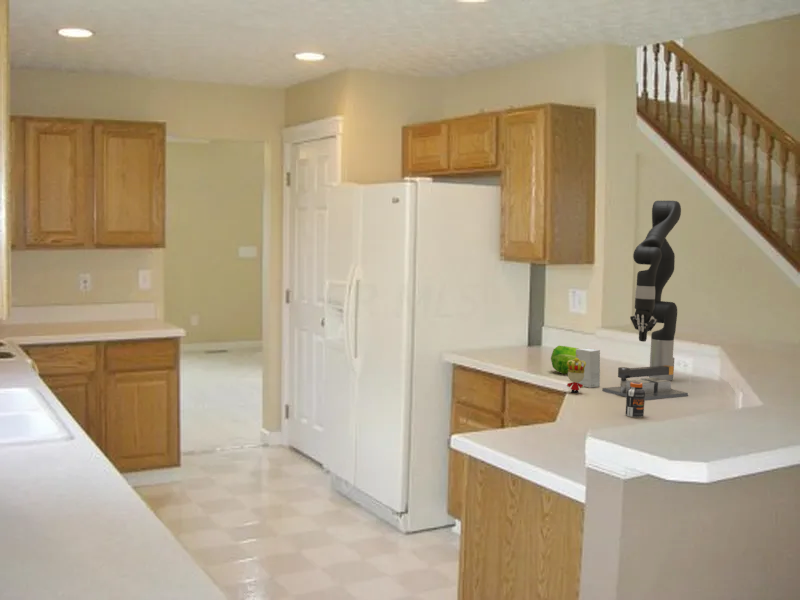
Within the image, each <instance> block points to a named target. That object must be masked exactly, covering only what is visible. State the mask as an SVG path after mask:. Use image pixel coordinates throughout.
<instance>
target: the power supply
mask: <svg viewBox="0 0 800 600" xmlns="http://www.w3.org/2000/svg"><path fill="white" fill-rule="evenodd" d="M631 382H639V383H642V384H643V385H642V386H643V387H642V389H643V390H644V391H645V393H654V382H650V381H646V380H641V378H627V379H626V390H628V389H629V388H630V383H631Z"/></svg>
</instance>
